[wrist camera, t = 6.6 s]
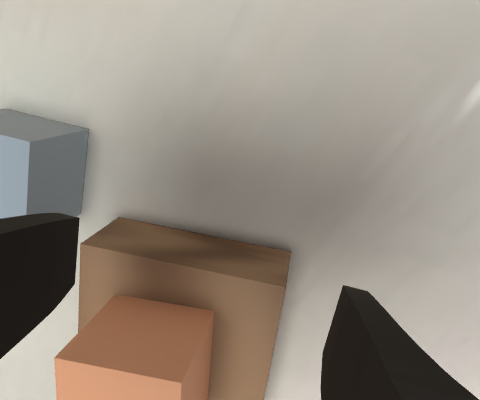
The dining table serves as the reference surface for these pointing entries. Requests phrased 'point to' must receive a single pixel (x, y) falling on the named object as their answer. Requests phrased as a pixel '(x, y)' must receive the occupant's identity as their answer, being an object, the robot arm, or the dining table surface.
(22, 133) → the slate-blue cube
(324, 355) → the robot arm
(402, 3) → the dining table surface
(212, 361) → the walnut block
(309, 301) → the dining table surface
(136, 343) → the terracotta cube
